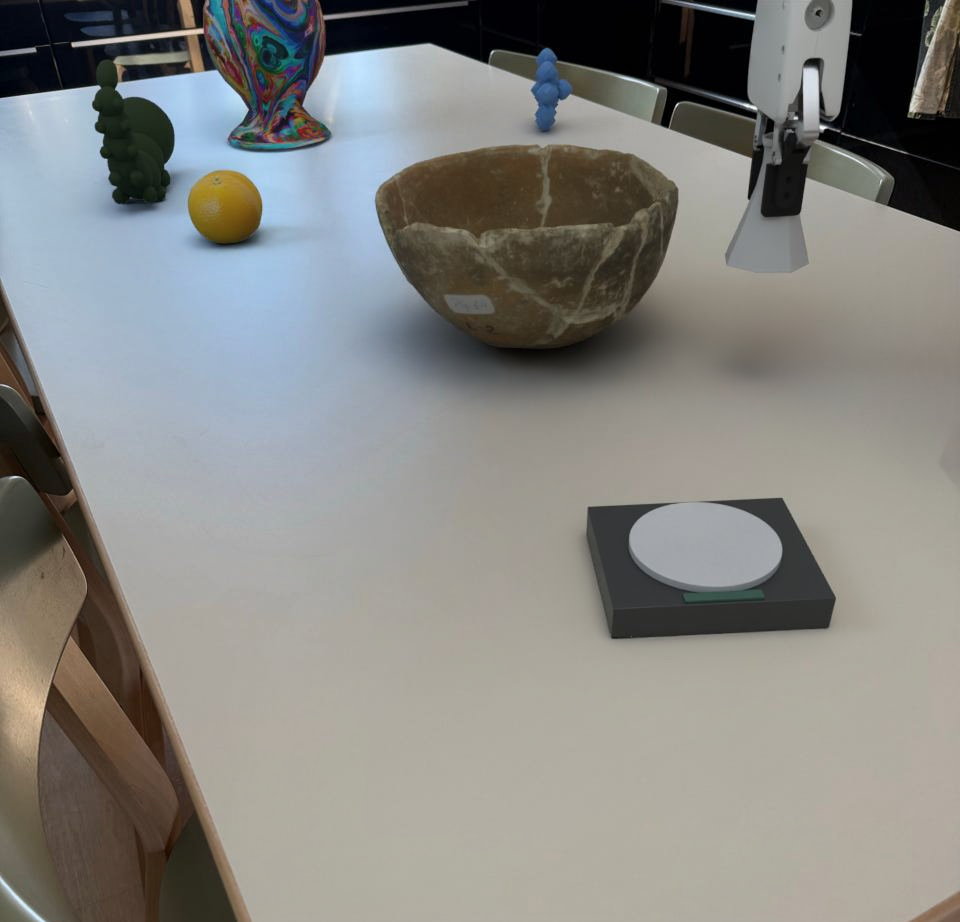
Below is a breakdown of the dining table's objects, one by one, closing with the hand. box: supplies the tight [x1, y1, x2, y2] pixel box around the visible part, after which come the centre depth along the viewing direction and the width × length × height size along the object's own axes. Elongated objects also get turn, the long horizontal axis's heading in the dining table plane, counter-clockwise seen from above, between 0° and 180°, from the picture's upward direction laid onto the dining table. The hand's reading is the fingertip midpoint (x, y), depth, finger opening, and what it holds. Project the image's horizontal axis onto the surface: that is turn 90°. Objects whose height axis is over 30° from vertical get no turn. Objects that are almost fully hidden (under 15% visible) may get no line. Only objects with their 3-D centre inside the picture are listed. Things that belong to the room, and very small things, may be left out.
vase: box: [202, 0, 332, 150], centre depth 155 cm, size 18×18×30 cm
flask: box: [724, 132, 810, 274], centre depth 85 cm, size 7×7×10 cm
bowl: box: [374, 143, 680, 350], centre depth 96 cm, size 28×27×15 cm
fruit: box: [187, 169, 264, 245], centre depth 124 cm, size 9×8×8 cm
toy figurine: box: [91, 59, 176, 205], centre depth 137 cm, size 9×19×25 cm
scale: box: [585, 497, 837, 639], centre depth 68 cm, size 14×12×3 cm
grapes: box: [530, 47, 574, 132], centre depth 161 cm, size 12×7×12 cm, turn 179°
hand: (773, 205), depth 85 cm, fingers closed on flask, 3 cm apart
